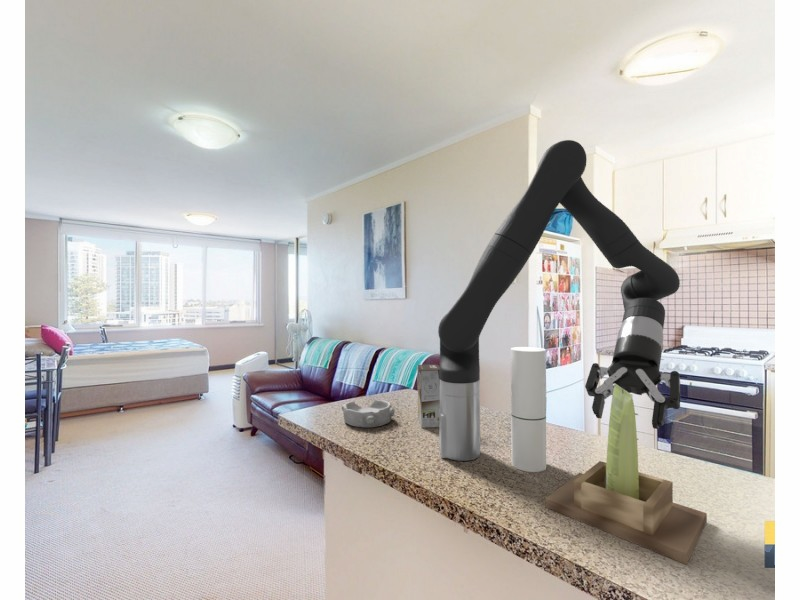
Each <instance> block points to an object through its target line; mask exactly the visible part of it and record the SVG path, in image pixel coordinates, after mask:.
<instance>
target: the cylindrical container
mask: <svg viewBox="0 0 800 600" xmlns="http://www.w3.org/2000/svg"><path fill="white" fill-rule="evenodd" d="M546 352H547V350H546V349H545V348H543V347H536V346H535V347H533V346H514V347H510V418H511V419H510V420H511V421H510V422H511V423H510V431H511V432H510V435H511V437H510V438H511V439H510V440H511V450H510V451H511V456H510V457H511V465H512V467H514V468H515V469H517V470H520V471H522V472H528V473H539V472H543V471H545V470H546V469H547V382H546V381H547V375H546V374H547V372H546V371H547V369H546V368H547V366H546V365H547V363H546V362H547V361H546V360H547V356H546V355H547V354H546Z"/></svg>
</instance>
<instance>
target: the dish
mask: <svg viewBox="0 0 800 600" xmlns="http://www.w3.org/2000/svg"><path fill="white" fill-rule="evenodd" d="M341 410H342V413H343V414H342V415H343V420H344V422H345V423H346V424H347V425H349V426H353V427H356V428H358V427H359V428H376V427H380V426H384V425H387V424H389V423H390V422H391V421H392V418H393V417H394V416H395V409H394V408H393V407H392V405H391V403H390V402H389V401H386V400H384V399H383V400H382V399H374V401H373V402H372V403H371V404H370V405H369V406H366V407H364V406H363V407H361V406H359V405H358V404H357V403H355V401H352V400H351V401H349V402H346V403H344V404H342V405H341Z"/></svg>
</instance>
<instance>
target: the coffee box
mask: <svg viewBox="0 0 800 600" xmlns="http://www.w3.org/2000/svg"><path fill="white" fill-rule="evenodd" d="M439 366H440V365H438V364H431V363H430V364H417V368H416V369H417V372H416V373H417V375H416V376H417V377H416V379H417V418H418V419H417V420H418V421H419V424H420V427H421V429H423V428H425V429H426V428H439V409H440V378H439Z"/></svg>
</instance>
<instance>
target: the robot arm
mask: <svg viewBox="0 0 800 600" xmlns="http://www.w3.org/2000/svg"><path fill="white" fill-rule="evenodd" d="M587 159H588V158H587V153H586V150H585V148H584V146H583V145H582V144H581V143H579V142H578V141H575V140H572V139H565V140H561V141H558V142H556V143H554V144H552V145H551V146H549V147H548V148H547V149H546V150H545V152H544V153H543V154H542V156H541V158H540V161H539V162H538V164H537V168H536V171H535V173H534V175H533V177H532V179H531V181H530V183H529V184H528V186H527V189H526V190H525V192H524V193H523V195H522V196H521V197H520V199H519V201H517V203H516V204H515V205H514V207H513V208H512V209H511V210H510V211H509V213H508V215H507V216H506V217H505V219H504V220H503V221H502V223H501V224H500V225H499V227H498V228H497V230H496V231H495V233H494V234H493V236H492V238H491V239H490V241H489V243H488V244H487V246H486V247H485V249H484V251H483V252H482V254H481V256H480V258H479V260H478V262H477V265H476V267H475V268H474V271H473V274H472V276H471V278H470V280H469V282H468V285H467V286H466V287H465V289H464V291H463V292H462V294H461V295H460V297H459V298H458V299H457V300H456V302H455V303H454V304H453V305H452V306H451V308H450V309H449V310H448V311H447V313H446V314H445V315H444V316H443V317H442V319H441V320H440V321H439V324H438V331H437V333H438V338H439V365H438V366H439V378H440V409H439V427H438V430H439V431H438V433H439V434H438V437H439V438H438V440H439V441H438V442H439V447H438V448H439V452H440V458H441V459H448V460H452V461H458V462H459V461H460V462H464V461H472V460H473V461H474V460H475V459H478V458H479V457H480V456H481V393H480V392H481V382H480V380H481V375H480V374H481V367H480V336H481V333H482V331H483V329H484V327H485V325H486V323H487V321H488V319H489V317H490V315H491V313H492V311H493V310H494V308H495V306H496V305H497V303H498V301H500V299H501V298H502V297H503V295H504V294H505V293H506V292H507V290H508V289H509V287H511V285H512V284H513V282H514V281H515V280H516V278H517V277H518V275H519V274H520V272H521V271H522V270H523V269H524V267H525V265H526V263H528V261H529V259H530V257H531V255H532V254H533V253H534V251H535V249H536V247H537V245H538V244H539V242H540V239H542V236H543V234H544V232H545V230H546V229H547V226H548V224H549V222H550V220H551V217H553V214H554V212H555V211H556V209H557V207H558V206H559V204H560V205H561V206H562V207H563V208H564V209H565V210H566V211H567V212H568V213H569V214H570V215H571V217H573V218H574V220H575V221H576V222H577V223H578V224H579V225H580V226H581V228H582V229H583V230H584V232H585V233H586V234H587V235H588V236H589V238H590V240H591V241H592V242H593V243H594V244H595V246H596V247H597V249H598V250H599V251H600V252H601V254H602V255H603V257H604V258H605V260H607V262H608V263H609V265H611V266H612V267H613V268H614V269H617V270H619V269H623V268H627V267H634V268H636V269H637V270H639V271H638V272H635V273H633V274H631V275H629V276H627V277H626V278H625V279H624V280H623V282H622V284H621V287H620V294H621V299H622V304H623V315H622V320H621V325H620V328H619V329H618V333H617V338H616V342H615V347H614V351H613V356H612V361H611V364H610V366H609V365H608V367H605V366H600V365H599V363H596V362H593V363H592V364H591V367H590V370H589V373H588V376H587V380H586V382H585V386H584V387H585V391H586V392H587V395H588V396H589V397H593V401H592V406H591V409H592V412H593V415H595V417H596V419H602V417H603V413H604V408H605V404H606V399H608V398H609V397H610V396H613V391H614V383H615V384H617V385H618V386H620V387H621V388H623V389H624V390H626V391H627V392H629V393H630V394H634V395H639V396H642V395H644V394H645V395H646V396H647V397H648V398H649V399H650V400H651V402H653V409H652V417H651V425H652V429H656V430H659V428H660V427H663V426H664V424H665V417H666V411H667V410H668V409H674V410H678V409H680V408H681V379H680V373H679V371H677V370H673V371H671V372H670V373H662V372H661V371H660V368H661V362H662V360H661V359H662V354H663V349H664V327H665V321H666V310H665V307H664V305H663V304H662V303H661V301H660V300H662V299H664V298H666V297H667V298H668V297H669V296H672V295H673V294H675V293H677V291H678V290H679V288H680V285H681V283H680V276H679V275H678V273H677V272H676V270H675V269H674V268H673V267H672V266H671V265H670V264H668V263H667V262H666V261H664V260H663V259H662V258H660V257H659V256H657V255H656V254H654V253H653V252H652V251H651V250H649V249H648V248H647V247H646V246H644V245H643V244H642V242H641V241H640V240H639V239H638V238H637V236H636V235H635V234H634V232H633V231H632V230H631V228H630V226H628V225H627V224H626V222H624V220H623V219H622V218H621V217H620V216H618V215H617V214H616V213H615V212H613V210H611V209H609V208H608V207H607V206H606V205H604V204H603V203H602V202H601V201H600V200H598V198H596V196H594V194H593V193H592V192H591V191H590V189H589V188H588V186H587V185H586V184H585V182H584V180H583V178H582V176H583V174H584V173H585V171H586V167H587ZM607 375H608V377H607V378H606V379H605V380H604V382H603V383H602V384H600V385H599V382H600V380H602V379H604V376H607ZM661 382H664V383H665V386H666V387H668V388H669V396H666V397H664V396H663V394H662V393H661V392H660V391H659V390H658V388H657V385H659V384H660V383H661ZM598 385H599V386H598Z"/></svg>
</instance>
